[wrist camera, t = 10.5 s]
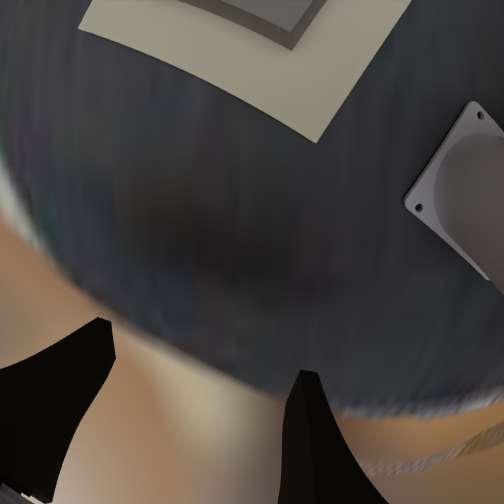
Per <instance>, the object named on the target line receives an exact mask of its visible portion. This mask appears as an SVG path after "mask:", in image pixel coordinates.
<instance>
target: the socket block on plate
mask: <svg viewBox="0 0 504 504" xmlns="http://www.w3.org/2000/svg"><path fill="white" fill-rule="evenodd" d="M411 1H412V0H93V1H92V3H91V4H90V6H89V8H88V10H87V12H86V14H85V16H84V17H83V19H82V21H81V23H80V25H79V27H78V29H81V30H84V31H87V32H90V33H93V34H96V35H99V36H102V37H104V38H107V39H110V40H113V41H115V42H118V43H121V44H123V45H126V46H128V47H131V48H133V49H136V50H138V51H141V52H143V53H146V54H148V55H151V56H153V57H155V58H158V59H160V60H162V61H165V62H167V63H169V64H171V65H173V66H176V67H178V68H180V69H182V70H184V71H186V72H189V73H191V74H193V75H195V76H197V77H199V78H201V79H203V80H205V81H207V82H209V83H211V84H213V85H215V86H217V87H219V88H221V89H223V90H225V91H227V92H229V93H231V94H232V95H234V96H236V97H238V98H240V99H242V100H244V101H245V102H247V103H249V104H251V105H253V106H254V107H256V108H258V109H260V110H261V111H263V112H265V113H267V114H268V115H270V116H272V117H274V118H275V119H277V120H279V121H280V122H282V123H284V124H285V125H287V126H289V127H290V128H292V129H293V130H295V131H297V132H298V133H300V134H302V135H303V136H305V137H306V138H308V139H309V140H311V141H313V142H314V143H317V141H318V139H319V138H320V136H321V135H322V133H323V132H324V130H325V129H326V127H327V126H328V124H329V123H330V121H331V120H332V118H333V117H334V115H335V114H336V112H337V111H338V109H339V108H340V106H341V105H342V103H343V102H344V100H345V99H346V97H347V96H348V94H349V93H350V91H351V90H352V88H353V87H354V85H355V84H356V82H357V81H358V79H359V78H360V76H361V75H362V73H363V72H364V70H365V69H366V67H367V66H368V64H369V63H370V61H371V60H372V58H373V57H374V55H375V54H376V52H377V51H378V49H379V48H380V47H381V45H382V44H383V42H384V41H385V39H386V38H387V36H388V35H389V33H390V32H391V30H392V29H393V27H394V26H395V24H396V23H397V21H398V20H399V18H400V17H401V15H402V14H403V12H404V11H405V9H406V8H407V6H408V5H409V3H410V2H411Z"/></svg>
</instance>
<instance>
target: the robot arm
mask: <svg viewBox="0 0 504 504" xmlns="http://www.w3.org/2000/svg"><path fill="white" fill-rule="evenodd" d="M478 112H480V114H481V117H480V119H478V117H477V113H478ZM417 204H421V207H420V209H419V210H415V207H416V205H417ZM404 206H405V207H406V208H407V209H408V210H409V211H410V212H412V213H413V214H414V215H415V216H416V217H418V218H419V219H420V220H421V221H423V222H424V223H425V224H426V225H427V226H428V227H430V228H431V229H432V230H433V231H434V232H435V233H437V234H438V235H439V236H440V237H441V238H442V239H443V240H445V241H446V242H447V243H448V244H449V245H450V246H451V247H452V248H454V249H455V250H456V251H457V252H458V253H459V254H460V255H461V256H462V257H463V258H464V259H465V260H467V261H468V262H469V263H470V264H471V265H472V266H473V267H474V268H475V269H476V270H477V271H478V272H479V273H480V274H481V275H482V276H483V277H484V278H485V279H486V280H491V281H492V282H493V284H494V285H495V286H496V287H497V288H498V289H499V291H500V292H501V293H502V294H503V295H504V132H503V131H502V129H501V128H500V127H499V126H498V125H497V124H496V122H495V121H494V120H493V119H492V118H491V117H490V116H489V115H488V113H487V112H486V111H485V110H484V109H483V108H482V107H481V106H480V105H479V104H478V103H477V102H474V101H470V102H468V103H467V104H466V106H465V107H464V109H463V111H462V112H461V114H460V116H459V117H458V119H457V120H456V122H455V124H454V125H453V127H452V128H451V130H450V132H449V133H448V135H447V136H446V138H445V139H444V141H443V142H442V144H441V145H440V147H439V148H438V150H437V151H436V153H435V154H434V156H433V157H432V159H431V160H430V162H429V163H428V165H427V166H426V168H425V169H424V171H423V172H422V173H421V175H420V176H419V178H418V179H417V181H416V182H415V183H414V185H413V186H412V188H411V189H410V190H409V192H408V193H407V195H406V196H405V198H404ZM115 359H116V356H115V349H114V341H113V334H112V325H111V321H108V320H105V319H102V318H99V317H97V318H96V319H94V320H92V321H90V322H89V323H87V324H86V325H84V326H82V327H81V328H79V329H78V330H76V331H75V332H73V333H71V334H70V335H68V336H67V337H65V338H63V339H62V340H60V341H58V342H57V343H55V344H53V345H51V346H50V347H48V348H46V349H44V350H42V351H41V352H39V353H37V354H35V355H33V356H31V357H29V358H27V359H25V360H22V361H20V362H18V363H15V364H13V365H11V366H8V367H5V368H2V369H0V504H34V503H32V502H31V501H29V500H27V499H26V498H24V497H23V496H21V493H23V494H25V495H27V496H28V497H30V496H32V497H34V498H36V499H37V500H39V501H41V502H42V503H44V504H47V503H51V502H52V500H53V496H54V492H55V488H56V484H57V480H58V477H59V473H60V470H61V467H62V464H63V461H64V458H65V456H66V453H67V450H68V448H69V445H70V443H71V440H72V438H73V436H74V434H75V431H76V429H77V427H78V425H79V423H80V421H81V419H82V418H83V416H84V415H85V413H86V411H87V410H88V408H89V406H90V405H91V403H92V402H93V400H94V398H95V397H96V395H97V394H98V392H99V390H100V389H101V387H102V386H103V384H104V382H105V381H106V379H107V377H108V375H109V373H110V370H111V368H112V366H113V364H114V361H115ZM278 504H389V503H388V502H387V501H386V500H385V499H384V498H383V497H382V496H381V494H380V493H379V492H378V491H377V489H376V488H375V487H374V485H373V484H372V483H371V482H370V480H369V479H368V478H367V476H366V475H365V473H364V472H363V470H362V469H361V467H360V466H359V464H358V463H357V461H356V460H355V458H354V456H353V455H352V453H351V451H350V449H349V448H348V446H347V444H346V442H345V440H344V438H343V436H342V434H341V432H340V430H339V428H338V426H337V423H336V421H335V418H334V416H333V414H332V411H331V409H330V407H329V404H328V401H327V399H326V396H325V393H324V390H323V387H322V384H321V381H320V378H319V375H318V373H317V372H312V371H306V370H300V372H299V374H298V376H297V379H296V381H295V383H294V386H293V388H292V390H291V393H290V395H289V397H288V399H287V402H286V407H285V414H284V421H283V432H282V466H281V483H280V491H279V497H278Z"/></svg>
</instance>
